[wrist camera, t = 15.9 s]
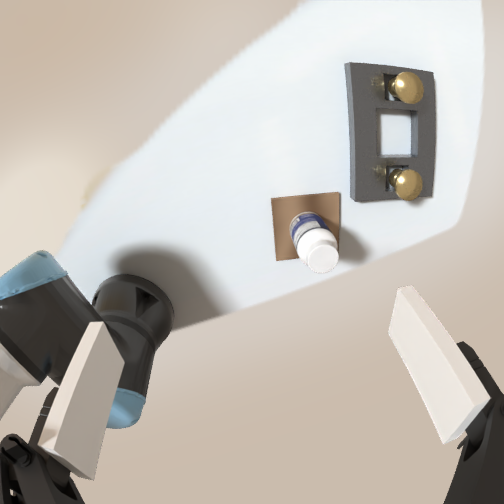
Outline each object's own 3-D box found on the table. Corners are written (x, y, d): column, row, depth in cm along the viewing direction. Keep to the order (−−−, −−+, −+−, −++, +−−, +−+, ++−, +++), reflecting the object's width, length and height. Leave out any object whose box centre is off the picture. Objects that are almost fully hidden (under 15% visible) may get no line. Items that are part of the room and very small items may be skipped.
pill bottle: (328, 236, 45) (348, 269, 37) (295, 248, 46) (309, 284, 38) (317, 205, 43) (338, 233, 34) (283, 218, 44) (296, 250, 35)
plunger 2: (384, 193, 41) (396, 201, 38) (385, 164, 39) (397, 170, 36) (408, 191, 41) (421, 199, 38) (410, 163, 39) (423, 170, 36)
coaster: (276, 259, 48) (276, 260, 47) (271, 198, 43) (271, 199, 42) (337, 251, 48) (338, 253, 47) (337, 191, 43) (339, 193, 42)
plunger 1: (384, 101, 35) (397, 102, 31) (382, 71, 32) (395, 70, 29) (410, 103, 34) (424, 105, 31) (408, 74, 32) (422, 73, 29)
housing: (350, 197, 43) (355, 201, 41) (344, 63, 34) (349, 62, 32) (425, 192, 43) (431, 196, 41) (426, 72, 34) (433, 72, 32)
